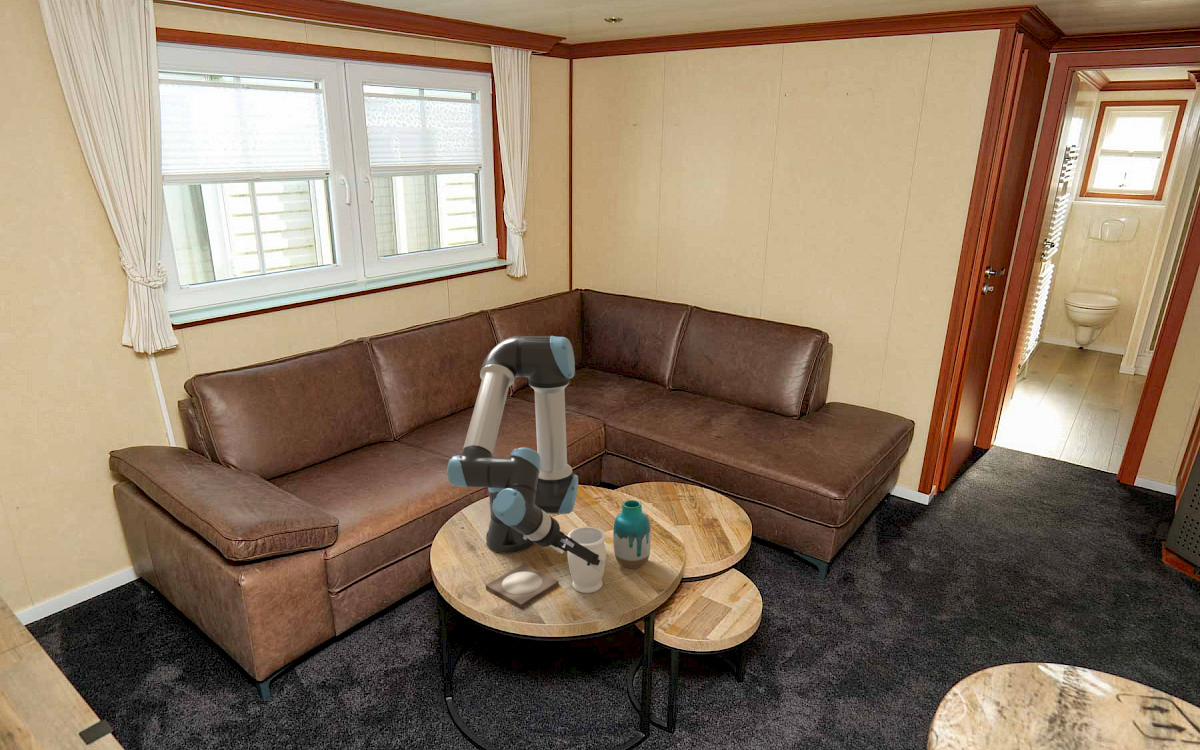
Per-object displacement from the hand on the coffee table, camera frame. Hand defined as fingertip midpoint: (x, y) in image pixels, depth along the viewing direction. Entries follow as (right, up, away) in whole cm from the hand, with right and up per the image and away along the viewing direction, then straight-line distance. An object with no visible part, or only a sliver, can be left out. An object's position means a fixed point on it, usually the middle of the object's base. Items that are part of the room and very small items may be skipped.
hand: (582, 557), depth 184 cm
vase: (+14, -6, +15) cm, 21 cm away
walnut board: (-16, -9, +4) cm, 19 cm away
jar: (+1, -9, +5) cm, 10 cm away
